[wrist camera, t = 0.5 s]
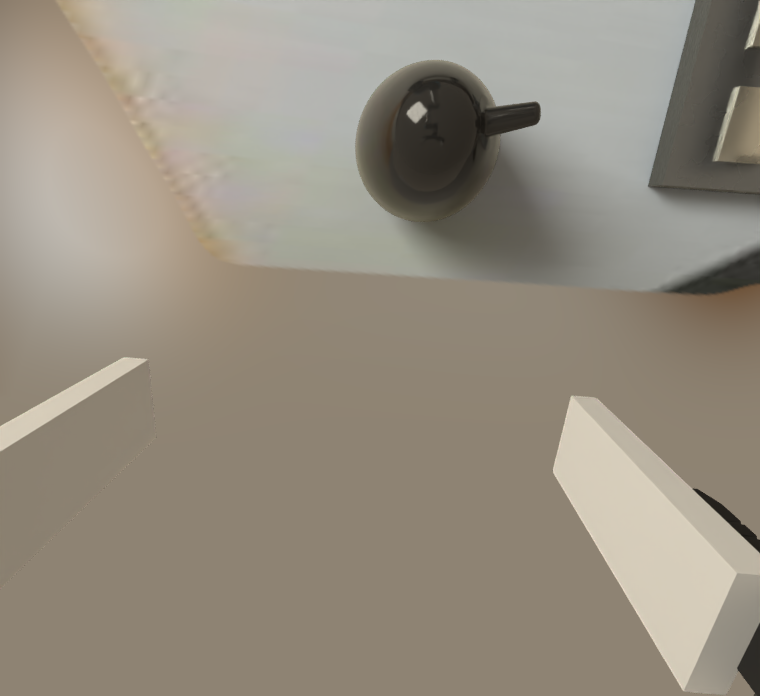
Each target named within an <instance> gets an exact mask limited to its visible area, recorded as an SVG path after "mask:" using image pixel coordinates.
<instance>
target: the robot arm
mask: <svg viewBox="0 0 760 696" xmlns="http://www.w3.org/2000/svg"><path fill="white" fill-rule="evenodd" d="M155 438H156V427H155V418H154V408H153V398H152V389H151V379H150V369H149V360H148V359H139V358H127V357H124V358H122V359H120V360H118V361H116V362H115V363H113V364H111V365H109V366H107V367H105V368H104V369H102V370H100V371H98V372H97V373H95V374H93V375H91V376H89V377H88V378H86V379H84V380H82V381H80V382H79V383H77V384H75V385H73V386H72V387H70V388H68V389H66V390H64V391H63V392H61V393H59V394H57V395H56V396H54V397H52V398H50V399H48V400H46V401H45V402H43V403H41V404H39V405H38V406H36V407H34V408H32V409H30V410H29V411H27V412H25V413H23V414H21V415H20V416H18V417H16V418H14V419H13V420H11V421H9V422H7V423H5V424H4V425H2V426H0V589H1V588H2V587H3V586H4V585H5V584H6V583H7V582H8V581H9V580H10V579H11V578H12V577H13V576H14V575H15V574H16V573H17V572H18V571H19V570H20V569H21V568H22V567H23V566H25V564H26V563H28V561H30V560H31V559H32V558H33V557H34V556H35V555H36V554H37V553H38V552H39V551H40V550H41V549H42V548H43V547H44V546H45V545H46V544H47V543H48V542H49V541H50V540H51V539H52V538H53V537H54V536H55V535H56V534H57V533H58V532H60V531H61V529H63V528H64V527H65V526H66V525H67V524H68V523H69V522H70V521H71V520H72V519H73V518H74V517H75V516H76V515H77V514H78V513H79V512H80V511H81V510H82V509H83V508H84V507H85V506H86V505H87V504H88V503H89V502H90V501H91V500H92V499H93V498H94V497H95V496H96V495H98V494H99V493H100V492H101V491H102V490H103V489H104V488H105V487H106V486H107V485H108V484H109V483H110V482H111V481H112V480H113V479H114V478H115V477H116V476H117V475H118V474H119V473H120V472H121V471H122V470H123V469H124V468H125V467H126V466H127V465H128V464H130V463H131V461H132V460H133V459H134V458H136V457H137V456H138V455H139V454H140V453H141V452H142V451H143V450H144V449H145V448H146V447H147V446H148V445H149V444H150V443H151V442H152V441H153V440H154V439H155ZM553 473H554V475H555V476H556V478H557V480H558V481H559V483H560V485H561V487H562V488H563V490H564V492H565V493H566V495H567V497H568V498H569V500H570V502H571V503H572V505H573V507H574V508H575V510H576V512H577V513H578V515H579V517H580V519H581V520H582V522H583V523H584V525H585V527H586V529H587V530H588V532H589V534H590V535H591V537H592V539H593V540H594V542H595V544H596V545H597V547H598V549H599V550H600V552H601V554H602V555H603V557H604V559H605V561H606V562H607V564H608V565H609V567H610V569H611V571H612V572H613V574H614V576H615V577H616V579H617V581H618V582H619V584H620V586H621V587H622V589H623V591H624V592H625V594H626V596H627V597H628V599H629V601H630V602H631V604H632V606H633V608H634V609H635V611H636V613H637V614H638V616H639V617H640V619H641V621H642V623H643V624H644V626H645V628H646V629H647V631H648V633H649V634H650V636H651V638H652V639H653V641H654V643H655V644H656V646H657V648H658V649H659V651H660V653H661V655H662V656H663V658H664V660H665V661H666V663H667V665H668V666H669V668H670V670H671V671H672V673H673V675H674V676H675V678H676V680H677V681H678V683H679V685H680V686H681V688H682V690H683V691H684V692H696V693H706V694H718V695H726V694H727V692H728V690H729V688H730V686H731V684H732V682H733V680H734V678H735V676H736V674H737V672H738V671H739V672H740V673H741V674H742V676H743V677H744V679H745V680H746V681H747V683H748V684H749V685H750V687H751V688H752V690H753V691H754V692H755V694H754V696H760V540H758V539H757V536H756V535H755V534H754V533H753V532H752V531H750V529H748V528H747V527H746V526H745V525H741V522H740V520H739V519H738V518H736V517H735V516H734V515H733V514H732V513H731V512H730V511H729V510H727V509H726V508H725V507H724V506H723V505H722V504H720V503H719V502H717V501H716V500H714V499H713V498H711V497H709V496H708V495H706V494H705V493H703V492H701V491H700V490H698V489H692V488H691V487H690V486H689V485H687V484H686V483H685V482H684V481H683V480H682V479H681V478H680V477H679V476H678V475H677V474H676V473H675V472H674V471H673V470H672V469H671V468H670V467H669V466H667V465H666V464H665V463H664V462H663V461H662V460H661V459H660V458H659V457H658V456H657V455H656V454H655V453H654V452H653V451H652V450H651V449H649V447H648V446H646V445H645V444H644V443H643V442H642V441H641V440H640V439H639V438H638V437H637V436H636V435H635V434H634V433H633V432H632V431H631V430H630V429H629V428H628V427H626V426H625V425H624V424H623V423H622V422H621V421H620V420H619V419H618V418H617V417H616V416H615V415H614V414H613V413H612V412H611V411H609V409H608V408H606V407H605V406H604V405H603V404H602V403H601V402H600V401H599V400H598V399H597V398H593V397H582V396H571V399H570V403H569V407H568V411H567V415H566V419H565V423H564V427H563V431H562V436H561V439H560V443H559V448H558V452H557V456H556V460H555V464H554V468H553Z"/></svg>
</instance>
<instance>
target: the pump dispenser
mask: <svg viewBox="0 0 760 696" xmlns="http://www.w3.org/2000/svg"><path fill="white" fill-rule="evenodd" d="M540 116H541V108H540V105H539V103H538V102H527V103H520V104H512V105H504V106H496V105H495V102H494V100H493V98H492V96H491V94H490V92H489V91H488V89H487V88H486V86H485V85H484V84H483V82H482V81H481V80H480V79H479V78H478V77H477V76H476V75H475V74H473V73H472V72H471V71H469V70H468V69H466V68H464V67H463V66H460V65H458V64H456V63H453V62H449V61H444V60H426V61H420V62H416V63H413V64H410V65H408V66H405V67H403V68H401V69H399V70H398V71H396V72H394V73H393V74H392V75H390V76H389V77H388V78H386V79H385V80H384V81H383V82H382V83H381V84H380V85H379V86H378V87H377V89H376V90H375V91H374V92H373V94H372V95H371V97H370V98H369V100H368V102H367V103H366V105H365V107H364V110H363V112H362V114H361V117H360V120H359V124H358V128H357V133H356V141H355V154H356V162H357V167H358V171H359V174H360V177H361V179H362V182H363V184H364V186H365V187H366V189H367V191H368V192H369V194H370V195H371V197H372V198H373V199H374V200H375V201H376V202H377V203H378V204H379V205H380V206H381V207H382V208H383V209H385V210H386V211H388V212H389V213H391V214H393V215H394V216H397V217H399V218H402V219H405V220H408V221H414V222H431V221H437V220H441V219H444V218H447V217H449V216H451V215H453V214H455V213H457V212H459V211H460V210H462V209H463V208H465V207H466V206H467V205H468V204H469V203H470V202H471V201H473V199H474V198H475V197H476V196H477V195H478V194H479V193H480V191H481V190H482V189H483V187H484V186H485V184H486V183H487V181H488V179H489V177H490V175H491V173H492V171H493V169H494V166H495V164H496V161H497V157H498V153H499V147H500V134H502V133H506V132H510V131H514V130H518V129H522V128H525V127H529V126H533V125H536V124H537V123H538V122H539V120H540Z"/></svg>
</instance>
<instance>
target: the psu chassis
mask: <svg viewBox="0 0 760 696" xmlns="http://www.w3.org/2000/svg"><path fill="white" fill-rule="evenodd" d="M648 186H652V187H665V188H678V189H692V190H705V191H719V192H732V193H745V194H759V195H760V0H696V2H695V6H694V10H693V13H692V17H691V21H690V25H689V29H688V33H687V37H686V41H685V45H684V49H683V52H682V56H681V60H680V64H679V68H678V72H677V76H676V80H675V84H674V87H673V91H672V95H671V99H670V103H669V107H668V111H667V115H666V119H665V122H664V126H663V130H662V134H661V138H660V142H659V146H658V150H657V154H656V158H655V161H654V165H653V169H652V173H651V177H650V181H649V185H648Z"/></svg>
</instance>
